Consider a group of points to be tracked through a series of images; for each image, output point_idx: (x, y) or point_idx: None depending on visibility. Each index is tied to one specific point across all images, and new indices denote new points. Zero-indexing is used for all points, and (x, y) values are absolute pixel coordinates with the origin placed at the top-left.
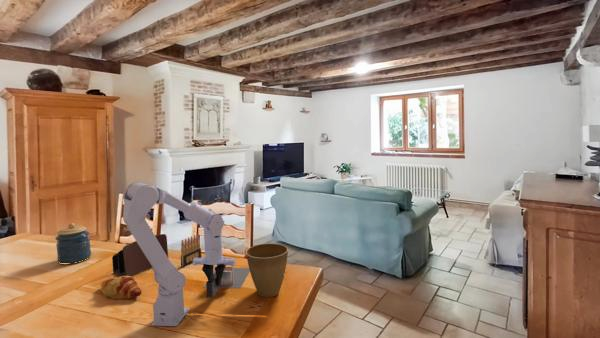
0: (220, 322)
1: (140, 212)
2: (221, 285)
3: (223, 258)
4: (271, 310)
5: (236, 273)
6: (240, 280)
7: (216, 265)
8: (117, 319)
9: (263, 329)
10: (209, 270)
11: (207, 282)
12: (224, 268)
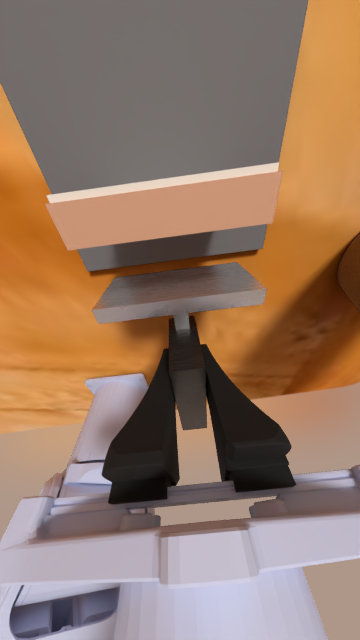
0: None
1: None
2: None
3: (300, 536)
4: (350, 342)
5: None
6: (255, 130)
7: (66, 212)
8: (27, 410)
9: (314, 386)
10: (177, 456)
11: (186, 428)
12: (253, 405)
